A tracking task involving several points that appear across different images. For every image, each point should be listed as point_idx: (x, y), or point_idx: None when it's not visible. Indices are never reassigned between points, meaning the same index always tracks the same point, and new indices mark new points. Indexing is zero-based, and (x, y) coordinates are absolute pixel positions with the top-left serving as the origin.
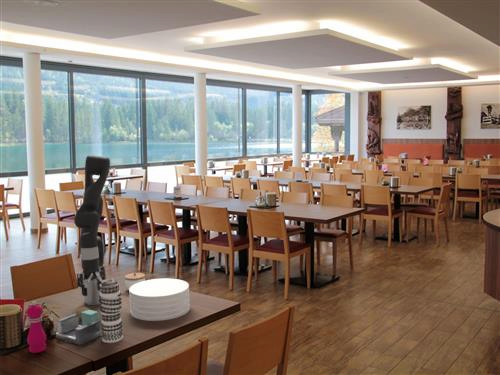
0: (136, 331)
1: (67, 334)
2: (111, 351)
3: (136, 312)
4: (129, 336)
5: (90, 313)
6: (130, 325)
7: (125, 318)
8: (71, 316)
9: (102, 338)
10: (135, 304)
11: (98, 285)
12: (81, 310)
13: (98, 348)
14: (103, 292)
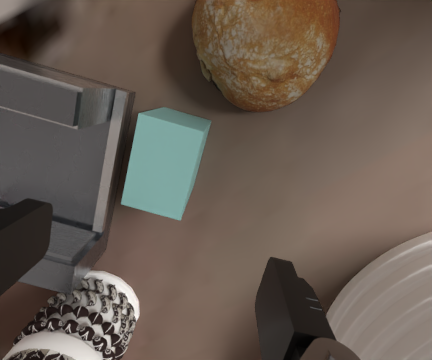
0: (193, 354)
1: (14, 117)
2: (5, 349)
3: (345, 321)
4: (141, 350)
5: (139, 189)
6: (247, 309)
7: (326, 252)
8: (23, 106)
9: None
10: (378, 344)
11: (275, 316)
12: (234, 45)
13: (3, 299)
14: None
